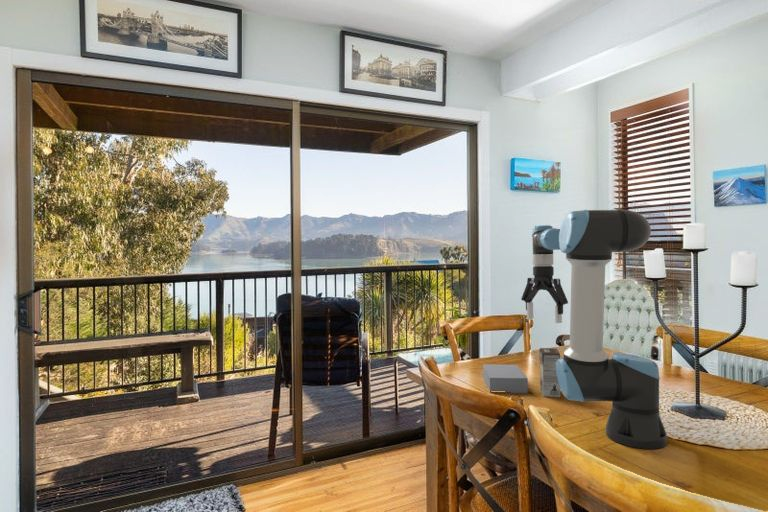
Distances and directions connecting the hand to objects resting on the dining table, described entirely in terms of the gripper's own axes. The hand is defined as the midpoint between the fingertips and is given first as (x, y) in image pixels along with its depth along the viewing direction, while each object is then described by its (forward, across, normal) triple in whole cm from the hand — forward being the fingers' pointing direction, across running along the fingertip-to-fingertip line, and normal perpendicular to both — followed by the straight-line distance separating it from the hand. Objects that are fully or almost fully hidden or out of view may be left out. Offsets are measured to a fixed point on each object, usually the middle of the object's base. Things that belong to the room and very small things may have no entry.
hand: (543, 320), depth 172 cm
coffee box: (+27, -4, +2) cm, 27 cm away
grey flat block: (+27, +13, +9) cm, 31 cm away
